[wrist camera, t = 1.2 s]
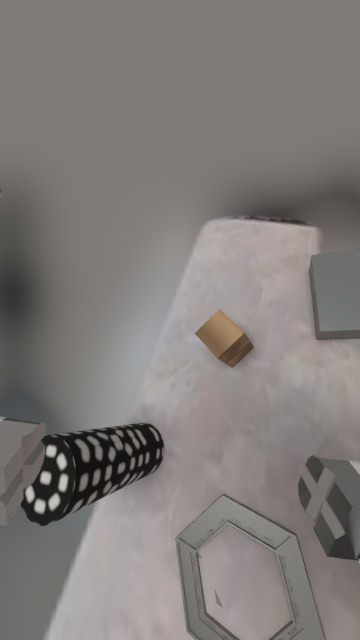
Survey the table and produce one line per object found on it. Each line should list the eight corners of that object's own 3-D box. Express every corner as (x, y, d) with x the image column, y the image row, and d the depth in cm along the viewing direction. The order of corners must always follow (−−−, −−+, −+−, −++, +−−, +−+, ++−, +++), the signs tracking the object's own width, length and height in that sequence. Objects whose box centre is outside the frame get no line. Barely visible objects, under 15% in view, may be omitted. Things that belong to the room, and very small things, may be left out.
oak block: (233, 328, 44) (219, 309, 35) (253, 347, 41) (244, 332, 32) (213, 347, 44) (194, 333, 35) (232, 367, 42) (217, 358, 33)
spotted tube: (165, 425, 43) (82, 440, 26) (161, 479, 40) (66, 536, 23) (126, 420, 46) (29, 430, 29) (120, 470, 44) (9, 514, 26)
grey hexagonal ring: (358, 613, 28) (360, 619, 27) (233, 716, 29) (231, 725, 28) (248, 471, 36) (247, 472, 36) (155, 556, 38) (152, 559, 37)
